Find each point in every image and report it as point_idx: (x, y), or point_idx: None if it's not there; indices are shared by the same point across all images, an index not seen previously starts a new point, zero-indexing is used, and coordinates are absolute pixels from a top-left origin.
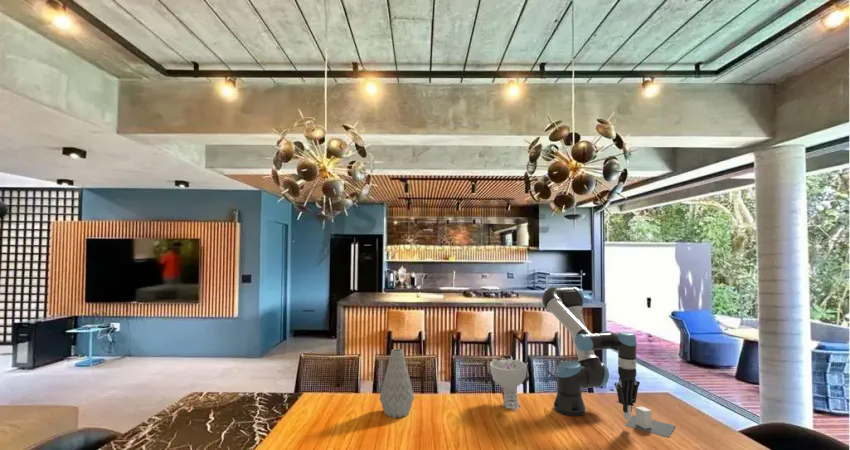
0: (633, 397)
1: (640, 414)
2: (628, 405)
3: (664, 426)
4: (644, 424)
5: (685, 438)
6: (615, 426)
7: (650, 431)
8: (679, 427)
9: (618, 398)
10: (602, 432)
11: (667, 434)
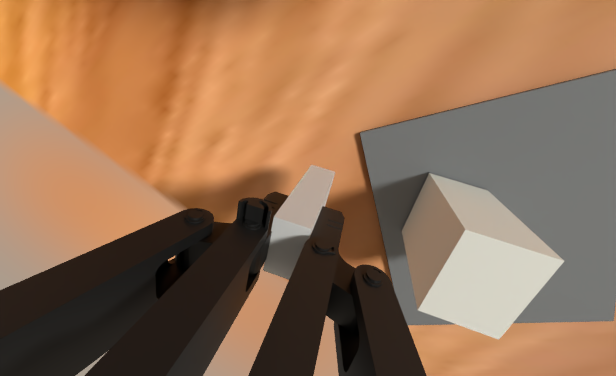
0: (343, 371)
1: (428, 249)
2: (278, 264)
3: (545, 284)
4: (405, 243)
5: (460, 364)
6: (311, 97)
7: (398, 256)
8: (612, 331)
9: (129, 237)
10: (183, 101)
11: (430, 316)
